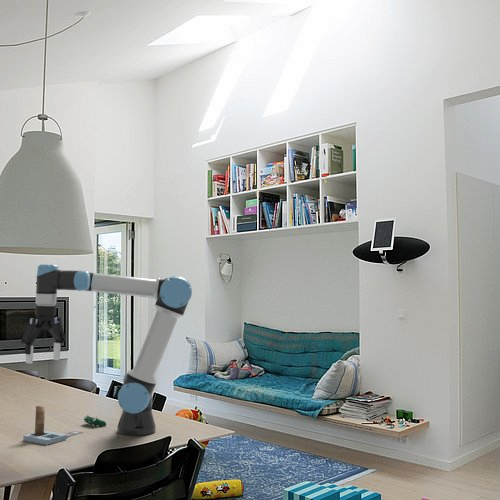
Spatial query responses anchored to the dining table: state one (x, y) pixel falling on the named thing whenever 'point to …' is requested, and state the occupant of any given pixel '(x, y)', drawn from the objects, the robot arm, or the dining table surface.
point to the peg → (39, 420)
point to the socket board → (45, 438)
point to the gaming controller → (94, 421)
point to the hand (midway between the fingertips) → (43, 361)
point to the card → (72, 433)
